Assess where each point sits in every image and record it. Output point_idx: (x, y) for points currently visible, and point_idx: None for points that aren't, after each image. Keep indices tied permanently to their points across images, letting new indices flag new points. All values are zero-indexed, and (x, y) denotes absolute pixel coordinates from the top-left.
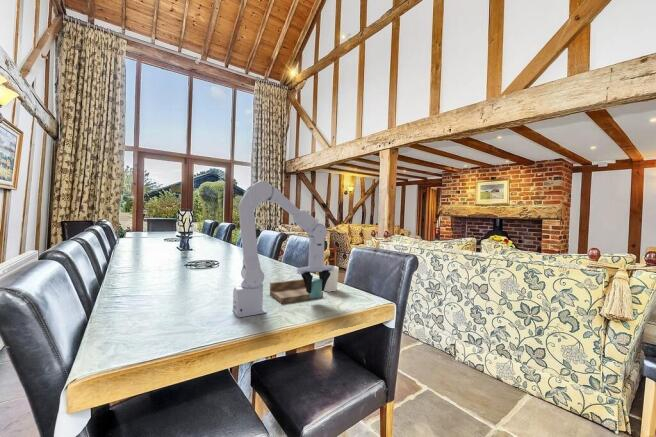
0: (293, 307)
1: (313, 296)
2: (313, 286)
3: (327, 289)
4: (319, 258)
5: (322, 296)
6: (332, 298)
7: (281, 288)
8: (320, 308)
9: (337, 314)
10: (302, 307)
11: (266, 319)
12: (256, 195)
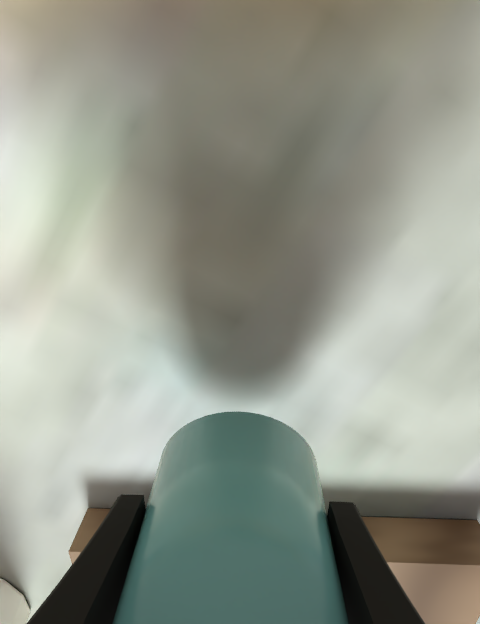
0: (457, 420)
1: (297, 443)
2: (324, 588)
3: None
4: None
5: (89, 513)
6: (17, 455)
7: None
8: (255, 292)
9: (176, 5)
10: (390, 388)
11: None
12: None
